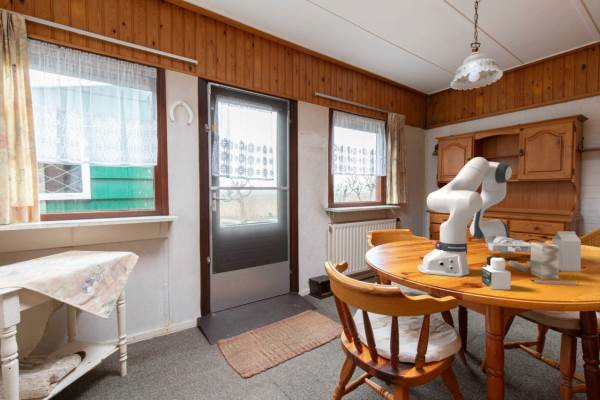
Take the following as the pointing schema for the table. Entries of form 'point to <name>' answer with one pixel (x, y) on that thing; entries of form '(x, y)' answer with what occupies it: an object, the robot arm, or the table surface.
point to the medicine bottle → (496, 274)
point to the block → (545, 260)
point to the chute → (540, 280)
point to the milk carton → (568, 250)
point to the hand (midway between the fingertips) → (517, 250)
